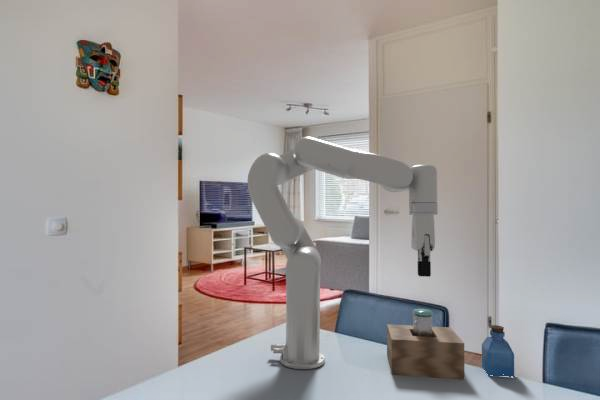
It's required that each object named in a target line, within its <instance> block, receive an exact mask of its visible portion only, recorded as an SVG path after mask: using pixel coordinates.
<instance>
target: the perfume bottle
mask: <svg viewBox="0 0 600 400" xmlns="http://www.w3.org/2000/svg"><path fill="white" fill-rule="evenodd" d="M504 328H505V327H504V326H502V325H496V324H492V325H490V330H489V335H490V336H487V337H485V339H484V340H483V342H482V343H481V368H482V370H483V371H484V370H485V371H486V372H485V371H484V372H485V374H486V373H487V374H488V375H487V374H486V375H487V377H490V375H493V376H509V377H511V376H513V377H514V378H515V353H514V351H513V349H512V347H511V345H510V343H509V341H507V340H506V339H505V338H504V337H506V335H505V331H504V330H505V329H504ZM503 374H504V375H503Z"/></svg>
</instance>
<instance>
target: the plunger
mask: <svg viewBox="0 0 600 400" xmlns="http://www.w3.org/2000/svg"><path fill="white" fill-rule="evenodd" d="M433 315H434V312H433V310H431V309H425V308H415V309H413V310H412V316H413V320H412V323H413V325H412V326H413V336H421V337H432V327H433Z"/></svg>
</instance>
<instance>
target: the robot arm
mask: <svg viewBox="0 0 600 400" xmlns="http://www.w3.org/2000/svg"><path fill="white" fill-rule="evenodd" d="M312 170H317V171H319V172H323V173H326V174H329V175H331V176H335V177H338V178H342V179H347V180H353V179H354V180H355V179H356V180H361V181H367V182H371V183H374V184H377V185H380V186H381V188H383V189H384V190H385V191H386V192H389V193H400V192H405V191H408V207H409V208H408V209H409V211H408V212H409V213H408V215H411V216H412V217H411V242H410V243H411V245H410V246H411V249H412V250H414V251H416V252H417V275H418V277H428V278H429V277H431V276H432V273H431V272H432V271H431V269H432V268H431V267H432V265H431V263H432V262H431V252H433V251H434V250H435V249H436V247H435V244H436V231H435V230H436V229H435V217H434V216H436V215H439V214H438V171H437V168H436V166H434V165H432V164H416V165H413V166H409V165H408V164H407V163H405V162H403V161H401V160H396V159H393V158H391V157H387V156H384V155H381V154H376V153H372V152H366V151H362V150H359V149H352V148H348V147H346V146H342V145H338V144H336V143H335V144H334V143H331V142H328V141H325V140H323V139H318V138H315V137H312V136H303V137H301V138H298V139H297V141H296V142H295V143H294V145H293V149H291V150H289V151H287V152H284V153H282V154H281V155H280V154H279V155H278V154H276V153H273V152H266V153H263V154H260V155H259V156H258V157H257V158H256V159H255V160H254V161H253V162H252V165H251V166H250V168H249V171H248V174H247V189H248V193H249V197H250V199H251V202H252V204H253V206H254V207H255V209H256V211H257V213H258V215H259V218H260V220H261V221H262V223H263V225H264V227H265V228H266V230H267V233H268V235H269V236H270V238H271V240H272V242H273V243H274V244H275V246H278V247H280V249H281V250H282V253H283V254H284V255H285V259H286V264H285V284H286V285H285V290H286V291H285V294H286V296H285V299H286V301H285V302H286V303H285V304H286V305H285V306H286V308H285V309H286V311H285V312H286V314H285V319H286V320H285V342H284V343H282V344H278V343H271V344H270V351H271V352H273V354H280V356H279V362H280V363H281V364H282V365H283V366H285V367H286V368H289V369H290V368H291V369H295V370H313V369H317V368H319V367H321V366H323V365H324V364H325V362H326V357H325V355H324V354H323V353H321V351H320V343H321V341H320V333H321V331H320V330H321V327H320V326H321V325H320V324H321V319H320V318H321V269H322V267H321V266H322V258H321V255H320V253H319V251H318V249H317V248H316V245H315V243H314V241H313V240H312V238H311V237H310V235H309V232H308V231H307V229H306V227H305V226H304V224H303V222H302V221H301V220H300V219H299V218H298V217H296V216H295V215H294V214H293V212H292V211H291V208H290V207H289V206H288V204H287V203H288V202H287V201H286V199H285V198H284V196H283V194H282V192H281V190H280V187H279V186H280V185H282V184H285V183H287V182H289V181H292V180H294V179H296V178H298V177H300V176H302V175H305V174H307V173H308V172H310V171H312Z"/></svg>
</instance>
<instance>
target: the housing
mask: <svg viewBox="0 0 600 400" xmlns="http://www.w3.org/2000/svg"><path fill="white" fill-rule="evenodd" d="M386 356H387V361H388V364H389V365H388V366H389V369H390V374H391V375H395V376H397V375H398V376H410V377H424V378H426V377H427V378H439V379H454V380H465V342H464V341H463V340H462V339H461V338H460V337H459V335H458V334H457V333H456V332H455V331H454V330H453V329H452V327H450V326H449V327H446V326H432V337H421V336H413V325H410V324H409V325H408V324H407V325H406V324H393V323H390V324H389V323H387V324H386Z"/></svg>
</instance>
